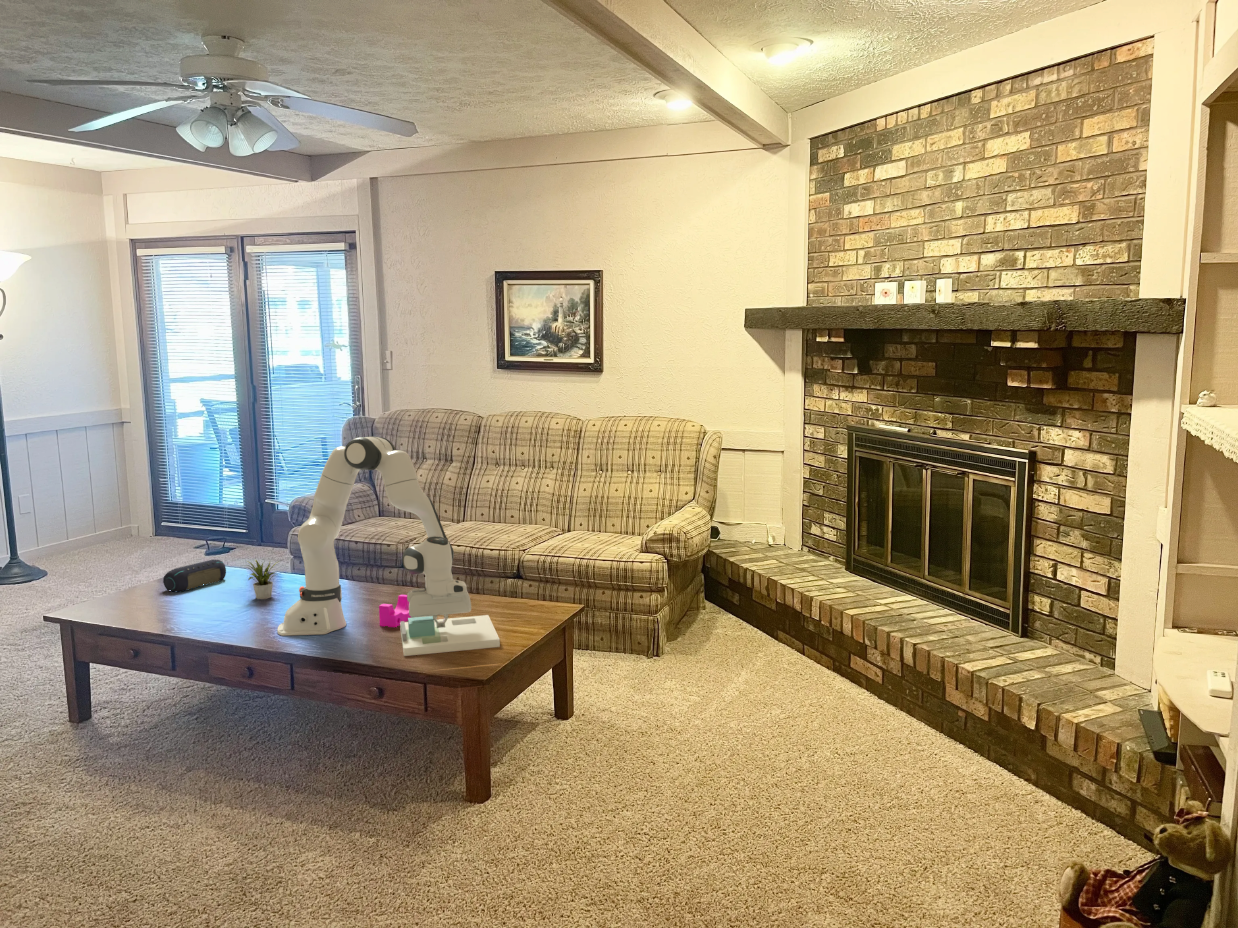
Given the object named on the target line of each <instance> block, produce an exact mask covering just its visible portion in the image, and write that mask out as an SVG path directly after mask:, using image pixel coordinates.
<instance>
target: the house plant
mask: <svg viewBox="0 0 1238 928" xmlns="http://www.w3.org/2000/svg"><path fill="white" fill-rule="evenodd" d="M264 559H265V558H263V559H262V560H264ZM246 562H248V563H249V565H248V564H246V566H247V567H242V568H246V569H248V570H250V571H251V573H249V578H248V580H247V581H250V580H252V579H253V580H254V578H255V579H256V580H255V582H254V583H253V584H252V585H253V590H254V594H255V599H257V600H267V599H271V597H272V594H273V584H274V583H273V581H270V580H271V579H272V578H273V577H274V576H278V574H277V572H276V571H275V572H274V571H273V572H270V571H271V570H272V569H273V568H274V566H275V565H276V564H278V563H280V560H279V561H276V562H275V563H274V564H273V565H272V566H271V561H269V563H268V564H267V567H265V569H264V570H263V568H264V563H265V562H266V560H264V561H262V563H261V564H260V563H259V562H258V560H257V559H255V562H256V567H255V566H254V564H253V563H252V562H250V561H249V560H246ZM249 567H250V568H249ZM271 576H272V577H271Z"/></svg>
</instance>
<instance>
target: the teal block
mask: <svg viewBox="0 0 1238 928" xmlns="http://www.w3.org/2000/svg"><path fill="white" fill-rule="evenodd" d="M407 622H408V628H409V636H410V638H411V637H421V636H432V635H435V625H434V619H433V616H422V617H411V618H408V621H407Z"/></svg>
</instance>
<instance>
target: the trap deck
mask: <svg viewBox="0 0 1238 928" xmlns="http://www.w3.org/2000/svg"><path fill="white" fill-rule="evenodd" d="M436 619H437V621H438V622H440V621H443V620H444V618H439V619H438V618H436ZM434 625H435V635H432V636H421V637H411V638H410V636H409V628H408V621H406V622H404V621H401V623H400V625H399V627H400V636H401V643H402V644H401V645H402V651H403V653H402V654H403V656H404V657H408V656H416V655H417V656H420V655H428V654H429V655H430V654H437V653H438V654H439V653H448V652H449V653H451V652H459V651H471V650H472V651H473V650H482V649H491V648H500V647H501V643H500V637H499V635H498V633H497V630H496V629H495V626H494V624H493V622H492V620H491V618H490V615H489V614H483V615H473V616H462V617H461V616H459V617H451V618H449V617H448V619H447V621H446V622H445V628H437V627H436V622H435V621H434Z"/></svg>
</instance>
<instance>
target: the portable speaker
mask: <svg viewBox="0 0 1238 928" xmlns="http://www.w3.org/2000/svg"><path fill="white" fill-rule="evenodd" d="M226 575H227V568H226V565H225V563H224V562H223V561H222V560H220V559H209V560H206V561H205V560H204V561H200V562H197V563H193V564H187V565H184V566H180V567H175V568H173V569H170V570H169V571H167V572H166V574H164V576H163V580H162V583H163V585H164V588H165V589H166V591H168V590H171V591H182V592H184V591H183V590H186V591H189V590H192V589H191V588H193V589H196V588H195V587H197V588H199V587H198V586H200V587H203V584H204V586H207V585H206V584H208V585H210V583H211V584H214V582H215V583H218V581H219V582H222V581H223V580H224V579H225V577H226ZM188 589H189V590H188ZM171 591H170V592H171Z"/></svg>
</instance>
